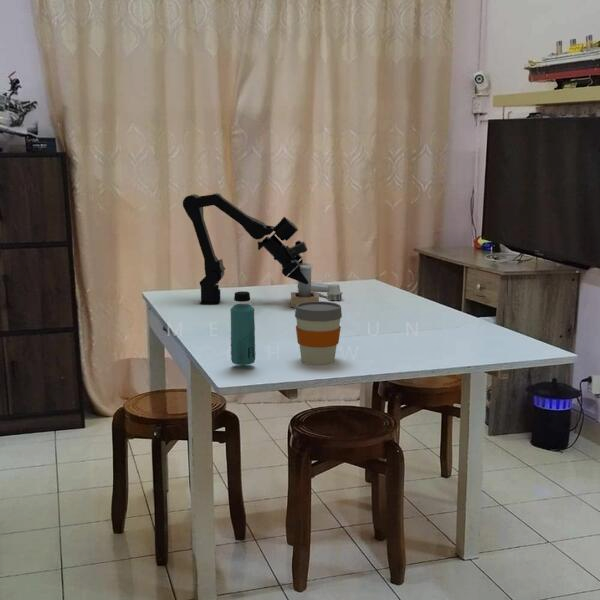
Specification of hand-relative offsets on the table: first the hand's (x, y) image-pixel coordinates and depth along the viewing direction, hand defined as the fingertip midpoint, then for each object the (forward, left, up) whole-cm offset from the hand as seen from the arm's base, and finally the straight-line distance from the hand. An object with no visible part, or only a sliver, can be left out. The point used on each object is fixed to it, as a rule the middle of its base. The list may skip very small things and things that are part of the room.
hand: (308, 281), depth 284 cm
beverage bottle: (-21, -78, -9) cm, 81 cm away
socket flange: (-1, 0, -9) cm, 9 cm away
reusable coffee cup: (-1, -72, -9) cm, 72 cm away
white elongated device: (+5, +17, -9) cm, 20 cm away
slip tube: (-1, 0, -8) cm, 8 cm away
